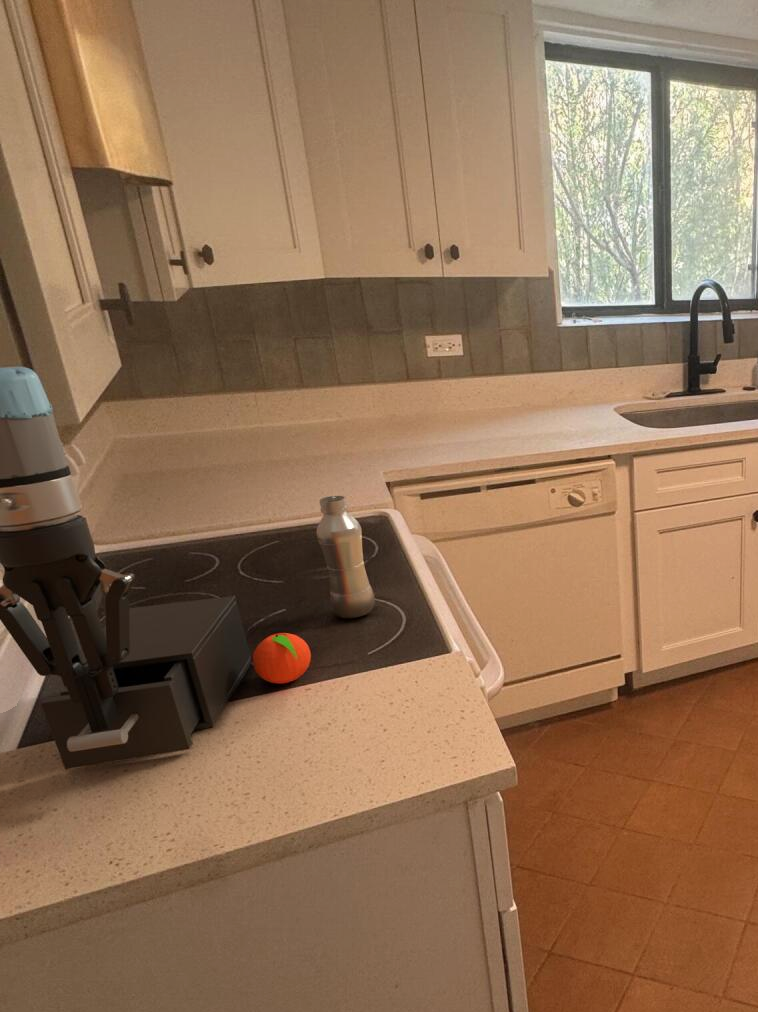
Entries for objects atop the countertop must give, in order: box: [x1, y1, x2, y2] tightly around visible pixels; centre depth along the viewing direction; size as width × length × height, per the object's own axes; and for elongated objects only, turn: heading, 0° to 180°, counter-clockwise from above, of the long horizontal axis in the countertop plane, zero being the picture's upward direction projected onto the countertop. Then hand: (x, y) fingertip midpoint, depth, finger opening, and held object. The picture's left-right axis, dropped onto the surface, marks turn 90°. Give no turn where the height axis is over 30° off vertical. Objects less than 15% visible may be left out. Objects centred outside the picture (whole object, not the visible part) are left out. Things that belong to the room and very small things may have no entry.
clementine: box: [252, 632, 312, 685], centre depth 108 cm, size 8×7×7 cm
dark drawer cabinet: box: [60, 595, 253, 731], centre depth 103 cm, size 18×14×11 cm
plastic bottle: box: [315, 495, 376, 619], centre depth 126 cm, size 6×7×20 cm
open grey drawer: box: [40, 659, 203, 770], centre depth 95 cm, size 22×12×9 cm, turn 17°
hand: (106, 724), depth 87 cm, fingers closed
